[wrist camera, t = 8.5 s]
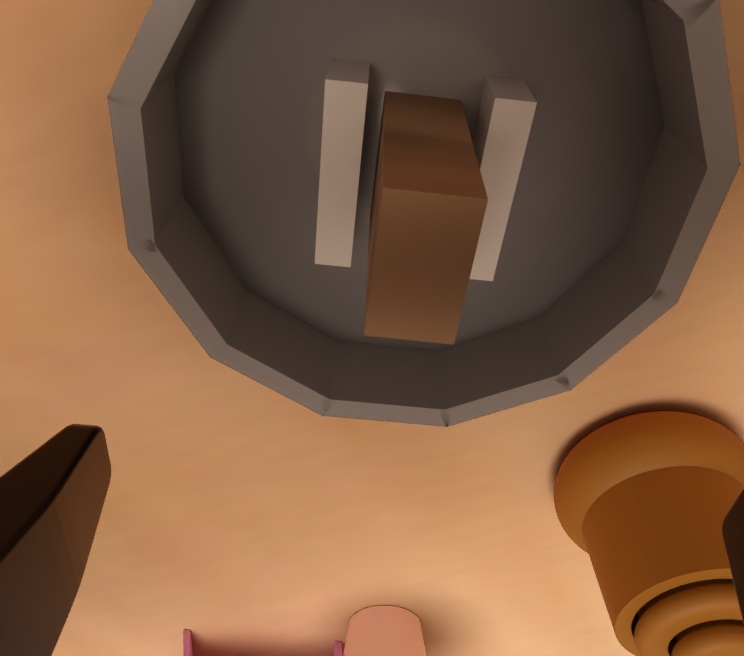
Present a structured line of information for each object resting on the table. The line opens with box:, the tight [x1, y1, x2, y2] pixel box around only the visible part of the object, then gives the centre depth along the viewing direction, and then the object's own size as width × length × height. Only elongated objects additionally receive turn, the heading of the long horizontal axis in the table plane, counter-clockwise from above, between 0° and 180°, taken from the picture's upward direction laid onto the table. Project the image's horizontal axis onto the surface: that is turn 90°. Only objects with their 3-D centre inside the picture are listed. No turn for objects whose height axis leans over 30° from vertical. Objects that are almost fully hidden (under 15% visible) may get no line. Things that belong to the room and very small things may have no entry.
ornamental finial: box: [554, 411, 744, 656], centre depth 23 cm, size 8×8×8 cm
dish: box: [107, 0, 740, 427], centre depth 17 cm, size 14×14×4 cm
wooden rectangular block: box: [364, 91, 488, 344], centre depth 16 cm, size 4×2×6 cm, turn 173°
